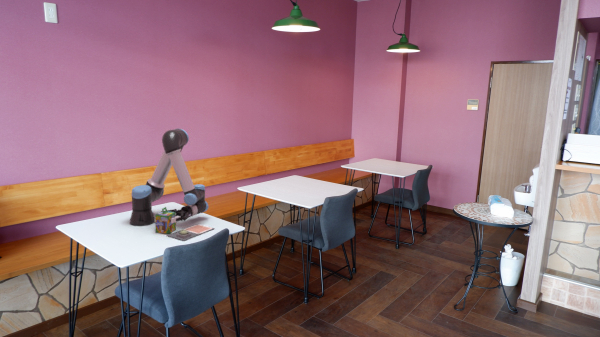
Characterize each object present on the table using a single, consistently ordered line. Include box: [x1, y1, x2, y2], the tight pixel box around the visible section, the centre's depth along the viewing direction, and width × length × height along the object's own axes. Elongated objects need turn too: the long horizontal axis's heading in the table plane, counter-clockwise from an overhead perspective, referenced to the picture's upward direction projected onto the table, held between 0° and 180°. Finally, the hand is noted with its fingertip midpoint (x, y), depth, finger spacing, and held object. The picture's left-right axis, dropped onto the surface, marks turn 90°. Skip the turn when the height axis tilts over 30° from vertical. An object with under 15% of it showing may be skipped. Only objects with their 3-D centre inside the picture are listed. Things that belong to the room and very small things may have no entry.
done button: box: [179, 229, 187, 235], centre depth 232 cm, size 4×4×2 cm
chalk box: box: [154, 206, 177, 235], centre depth 239 cm, size 9×9×15 cm
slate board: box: [166, 223, 215, 242], centre depth 240 cm, size 14×26×2 cm, turn 151°
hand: (163, 218), depth 237 cm, fingers open, 13 cm apart
